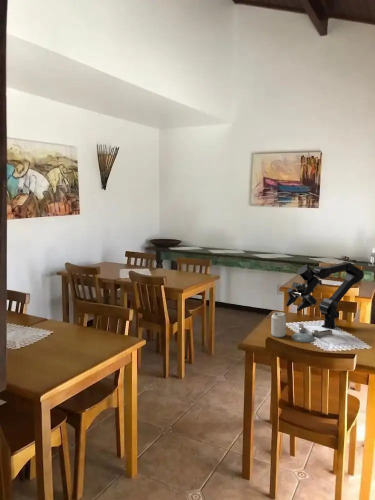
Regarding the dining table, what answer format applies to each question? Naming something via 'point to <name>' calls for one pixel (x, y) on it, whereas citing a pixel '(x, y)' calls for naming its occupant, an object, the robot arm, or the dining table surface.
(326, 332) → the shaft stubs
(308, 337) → the pad
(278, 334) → the can
